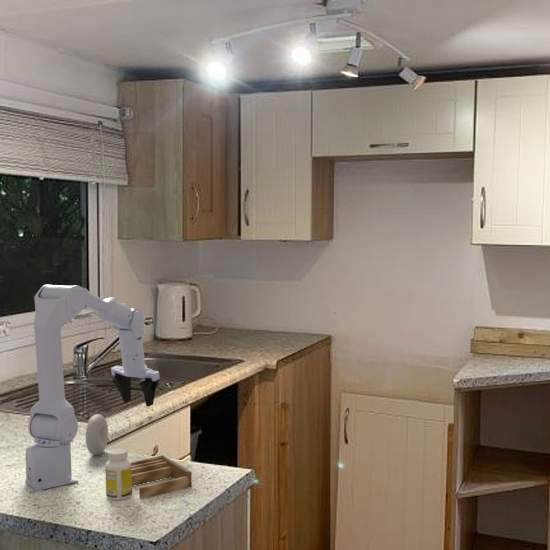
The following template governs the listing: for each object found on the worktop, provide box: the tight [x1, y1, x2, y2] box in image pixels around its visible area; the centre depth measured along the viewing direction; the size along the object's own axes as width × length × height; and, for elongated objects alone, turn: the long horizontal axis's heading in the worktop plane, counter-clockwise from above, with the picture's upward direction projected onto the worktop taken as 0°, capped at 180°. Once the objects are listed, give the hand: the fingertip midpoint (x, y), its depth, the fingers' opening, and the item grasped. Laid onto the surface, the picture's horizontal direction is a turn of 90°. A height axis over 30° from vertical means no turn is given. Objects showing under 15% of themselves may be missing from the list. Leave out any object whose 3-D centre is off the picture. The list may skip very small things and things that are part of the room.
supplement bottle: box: [104, 448, 133, 501], centre depth 158 cm, size 5×5×10 cm
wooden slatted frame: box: [130, 455, 193, 500], centre depth 166 cm, size 12×14×3 cm
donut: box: [85, 413, 109, 456], centre depth 186 cm, size 10×4×10 cm, turn 175°
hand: (138, 403), depth 195 cm, fingers open, 7 cm apart
